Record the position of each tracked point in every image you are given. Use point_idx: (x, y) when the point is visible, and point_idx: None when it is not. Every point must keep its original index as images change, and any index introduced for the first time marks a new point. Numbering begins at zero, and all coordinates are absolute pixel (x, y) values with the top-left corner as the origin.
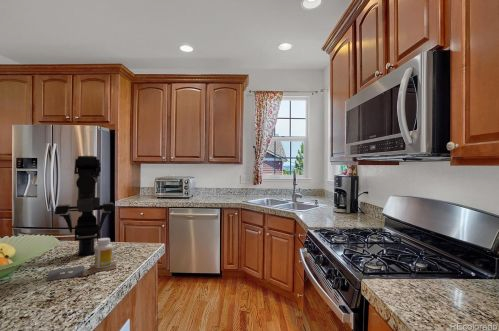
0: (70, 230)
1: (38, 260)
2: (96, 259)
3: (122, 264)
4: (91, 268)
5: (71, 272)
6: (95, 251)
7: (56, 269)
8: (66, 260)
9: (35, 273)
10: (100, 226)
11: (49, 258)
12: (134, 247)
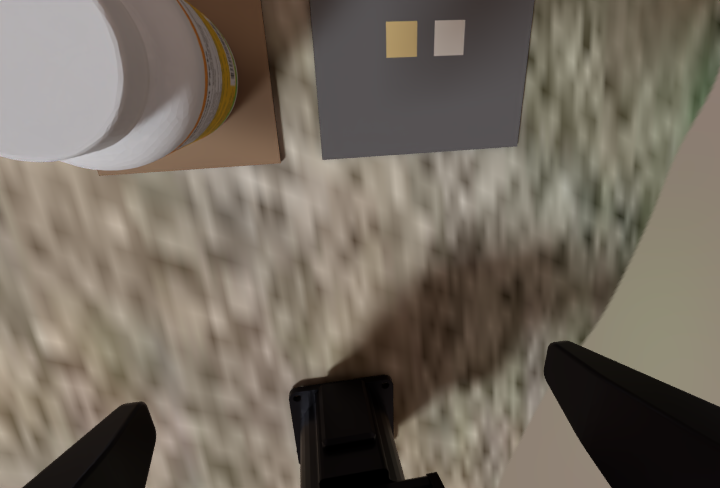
0: (592, 358)
1: None
2: (200, 13)
3: None
4: (259, 51)
5: (393, 23)
6: (195, 24)
7: (486, 146)
8: (439, 321)
9: (587, 130)
10: (81, 458)
11: (519, 379)
12: None
